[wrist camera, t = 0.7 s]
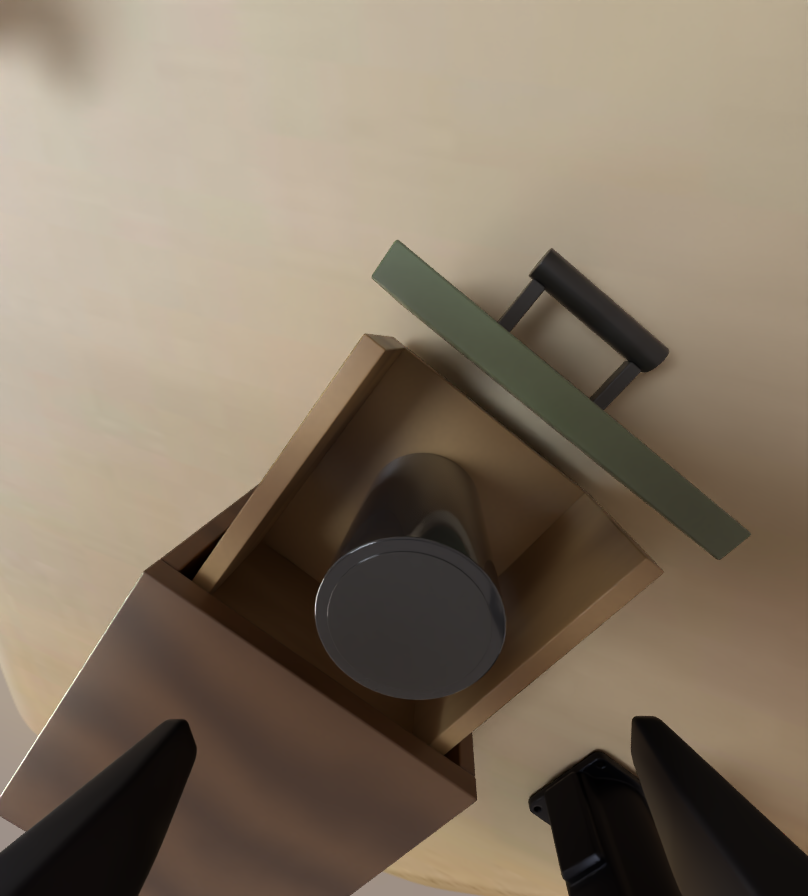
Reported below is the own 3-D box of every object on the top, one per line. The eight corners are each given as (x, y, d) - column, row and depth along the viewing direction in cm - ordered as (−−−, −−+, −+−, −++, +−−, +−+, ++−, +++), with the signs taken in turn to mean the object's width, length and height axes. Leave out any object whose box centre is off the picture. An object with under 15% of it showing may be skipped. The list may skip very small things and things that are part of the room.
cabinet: (261, 481, 21) (143, 570, 13) (465, 631, 22) (477, 800, 14) (137, 659, 25) (-10, 811, 17) (312, 775, 27) (253, 968, 18)
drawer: (471, 198, 16) (491, 94, 9) (706, 401, 17) (874, 437, 10) (241, 524, 21) (149, 606, 14) (432, 660, 22) (427, 795, 15)
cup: (504, 499, 18) (550, 620, 10) (431, 575, 19) (423, 731, 11) (413, 429, 17) (388, 498, 10) (346, 512, 19) (278, 629, 11)
